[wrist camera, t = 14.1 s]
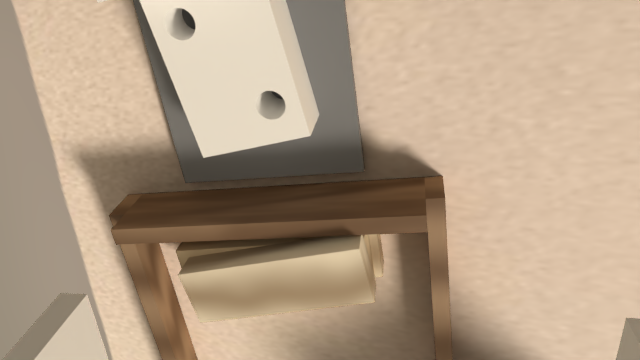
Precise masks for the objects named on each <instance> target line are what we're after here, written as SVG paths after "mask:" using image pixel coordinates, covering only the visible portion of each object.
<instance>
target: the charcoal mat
mask: <svg viewBox="0 0 640 360" xmlns="http://www.w3.org/2000/svg"><path fill="white" fill-rule="evenodd" d="M133 2H134V6H135V9H136V13H137V16H138V20H139V23H140V27H141V30H142V34H143V37H144V40H145V44H146V47H147V51H148V54H149V58H150V61H151V65H152V68H153V72H154V75H155V79H156V82H157V86H158V89H159V93H160V96H161V100H162V103H163V106H164V110H165V113H166V117H167V120H168V124H169V127H170V131H171V134H172V138H173V141H174V145H175V148H176V152H177V155H178V159H179V162H180V165H181V169H182V172H183V176H184V179H185V183H191V182H207V181H223V180H239V179H255V178H271V177H287V176H303V175H319V174H335V173H351V172H364V168H365V167H364V159H363V150H362V142H361V133H360V125H359V117H358V108H357V100H356V91H355V83H354V74H353V66H352V57H351V49H350V41H349V32H348V24H347V15H346V7H345V0H286V3H287V6H288V9H289V13H290V16H291V20H292V23H293V26H294V30H295V33H296V37H297V40H298V44H299V47H300V50H301V54H302V57H303V61H304V64H305V67H306V71H307V74H308V78H309V81H310V84H311V88H312V91H313V95H314V98H315V102H316V105H317V108H318V112H319V117H318V119H317V122H316V124H315V126H314V129H313V131H312V134H311V136H308V137H303V138H298V139H294V140H289V141H284V142H279V143H274V144H269V145H264V146H259V147H255V148H250V149H245V150H240V151H235V152H230V153H225V154H220V155H215V156H211V157H206V158H203V156H202V153H201V151H200V148H199V146H198V143H197V141H196V138H195V136H194V134H193V131H192V129H191V126H190V124H189V121H188V119H187V116H186V114H185V111H184V109H183V106H182V104H181V101H180V99H179V97H178V94H177V92H176V89H175V87H174V84H173V82H172V79H171V77H170V74H169V72H168V69H167V67H166V65H165V62H164V60H163V57H162V55H161V52H160V50H159V47H158V45H157V42H156V40H155V37H154V35H153V33H152V30H151V28H150V25H149V23H148V20H147V18H146V15H145V13H144V10H143V8H142V5H141V3H140V0H133ZM182 16H183V20H184V21H185V23H186V24H187V25H188V26H189V27H190V28H192V29H195V27H196V26H195V21H194V18H193V17H192V15H191V14H190V13H189V12H188V11H186V10H184V9H182ZM271 92H272V94H273V95H274V96H275V97H277V98H279V99H283V98H282V96H281V95H279V94H278V93H276V92H274V91H271ZM283 100H284V99H283Z"/></svg>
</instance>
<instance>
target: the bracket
mask: <svg viewBox="0 0 640 360" xmlns="http://www.w3.org/2000/svg"><path fill="white" fill-rule="evenodd" d="M102 1H106V0H97V2H98V3H99V2H102ZM140 3H141V5H142V8H143V10H144V13H145V15H146V18H147V20H148V23H149V25H150V28H151V30H152V33H153V35H154V37H155V40H156V42H157V45H158V47H159V50H160V52H161V55H162V57H163V60H164V62H165V65H166V67H167V69H168V72H169V74H170V77H171V79H172V82H173V84H174V87H175V89H176V92H177V94H178V97H179V99H180V101H181V104H182V106H183V109H184V111H185V114H186V116H187V119H188V121H189V124H190V126H191V129H192V131H193V134H194V136H195V138H196V141H197V143H198V146H199V148H200V151H201V153H202V156H203V158H206V157H211V156H215V155H220V154H225V153H230V152H235V151H240V150H245V149H250V148H255V147H259V146H264V145H269V144H274V143H279V142H284V141H289V140H294V139H298V138H303V137H308V136H311V134H312V131H313V129H314V126H315V124H316V122H317V119H318V117H319V112H318V108H317V105H316V102H315V98H314V95H313V91H312V88H311V84H310V81H309V78H308V74H307V71H306V67H305V64H304V61H303V57H302V54H301V50H300V47H299V44H298V40H297V37H296V33H295V30H294V26H293V23H292V20H291V16H290V13H289V9H288V6H287V3H286V0H140ZM182 9H184V10H186V11H188V12H189V13H190V14H191V15H192V17H193V18H194V21H195V26H196V27H195V29H192V28H190V27H189V26H188V25H187V24H186V23H185V21H184V20H183V16H182ZM271 91H274V92H276V93H278V94H279V95H281V96H282V98H283V99H284V100H283V99H279V98H277V97H275V96H274V95H273V94H272V92H271Z"/></svg>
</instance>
